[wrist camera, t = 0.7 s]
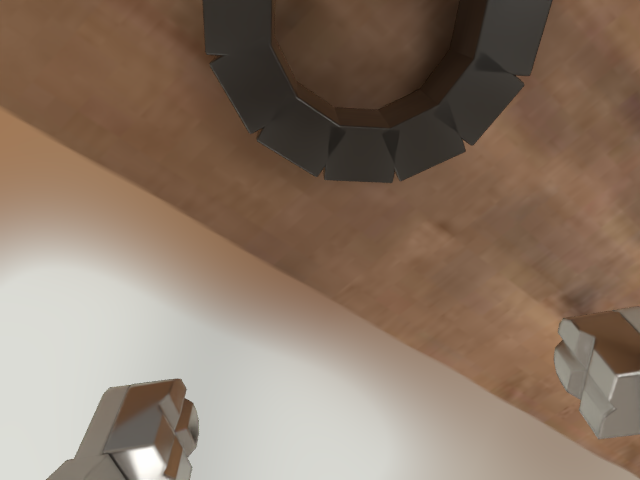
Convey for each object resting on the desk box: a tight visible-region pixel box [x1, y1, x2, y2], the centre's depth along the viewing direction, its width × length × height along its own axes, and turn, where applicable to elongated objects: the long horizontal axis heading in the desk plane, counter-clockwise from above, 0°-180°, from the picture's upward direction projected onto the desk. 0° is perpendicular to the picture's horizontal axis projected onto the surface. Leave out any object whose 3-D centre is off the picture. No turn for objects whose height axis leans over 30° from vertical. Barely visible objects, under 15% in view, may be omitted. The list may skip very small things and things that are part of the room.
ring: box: [203, 0, 552, 183], centre depth 17 cm, size 12×12×3 cm
